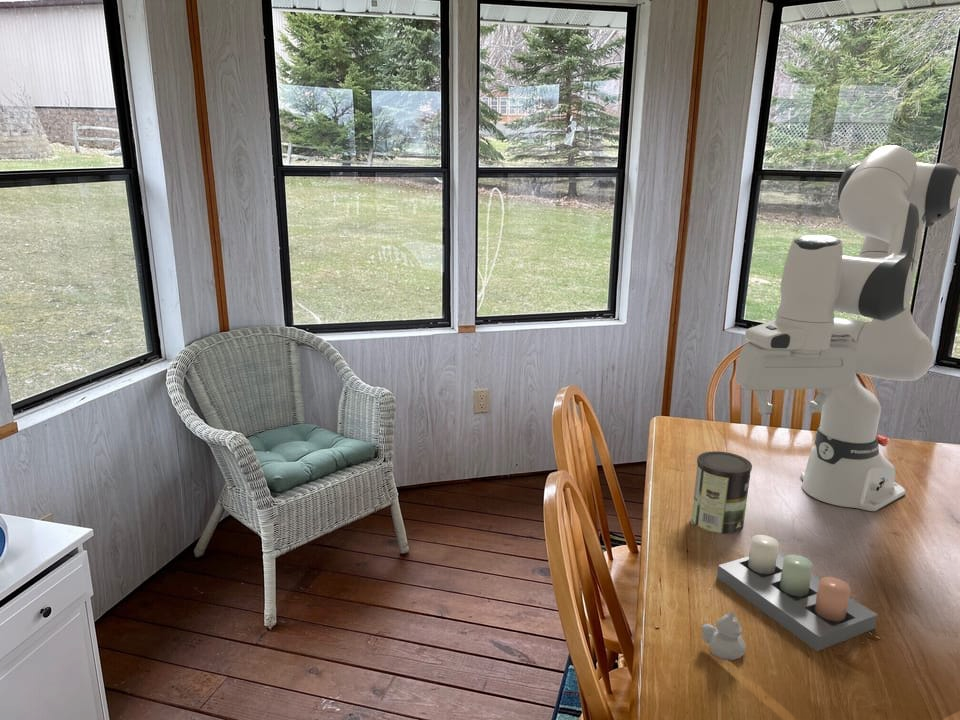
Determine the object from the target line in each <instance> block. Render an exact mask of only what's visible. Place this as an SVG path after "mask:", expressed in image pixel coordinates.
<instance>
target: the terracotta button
mask: <svg viewBox="0 0 960 720" xmlns="http://www.w3.org/2000/svg"><path fill="white" fill-rule="evenodd" d="M850 595H851V586H850V585H849V583H848V582H846V581H845V580H843V579H841V578H837V577H834V576H824V577H823V576H822V577H821V578H820V580H819V586H818V592H817V597H816V603H815V612H816V613H817V614H818V615H819V616H820V617H822V618H824V619H827V620H830V621H842V620H844V619H845V616H846V611H847V606H848V600H849V597H850Z"/></svg>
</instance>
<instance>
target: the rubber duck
mask: <svg viewBox="0 0 960 720" xmlns="http://www.w3.org/2000/svg"><path fill="white" fill-rule="evenodd" d="M734 613H735V611H734V610H732V611H730V612H728V613H727V614H726V613H725V614H724V615H722V616H721V617H719V619H718V620H717V621H716V624H715V625H716V626H714V625H712V624H710V623H704V624H703V625H702V626H701V631H702V637H701V638H702V641H703V642H704V643H707V644H708V645H709V648H710V652H711V653H712V655H713V656H715V657H717V658H719V659H721V660H724V661H727V662H729V661H730V660H731V661H733V660H738V659H740V658H742V656H743V655H744V654H745V652H746V649H747V648H746V647H747V646H746V643H745V640H744V638H743V636H742V635H741V634H743V629H742V628H743V627H741V625H740V623H739V620H738V617H736V616H735V614H734Z"/></svg>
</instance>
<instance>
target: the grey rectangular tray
mask: <svg viewBox="0 0 960 720" xmlns="http://www.w3.org/2000/svg"><path fill="white" fill-rule="evenodd" d="M785 556H786V555H783V554H782V553H780V552H779V551H778V554H777V560H776V567H775V571H774V572H773V573H771V574H761V573H757V572H755V571H753V570H752V569H750V568H749V566H748V561H749V555H748V556H745V557H741V558H738V559H735V560H732V561H727V562H725V563H721V564H718V566H717V575H716V579H718V580H719V581H720V582H722V583H723V584H725V586H727V587H728V588H730V589H732V591H733V592H735V593H737V595H739V596H741V597H742V598H744V599H745V600H746V601H748V602H749V603H750V604H751V605H752V606H754V607H755V608H757V609H758V610H760V611H761V612H762V613H764V614H765V615H766V616H768V617H769V618H770V619H772V620H773V621H774V622H776V623H777V624H779V625H780V626H782V627H783V628H785V630H787V631H788V632H790V633H791V634H793V635H794V636H795V637H796V638H798V639H799V640H800V641H802V642H803V643H804V644H806V645H807V646H809V647H810V648H812V649H813V650H814V651H815V652H819V651H821V650H824V649H826V648H829V647H832V646H834V645H836V644H837V645H838V644H839V643H842V642H844V641H846V640H849V639H852V638H854V637H857V636H860V635H862V634H865V633H867V632H870V631H872V630H875V629H876V625H877V620H878V616H879V614H877V613H876V612H875V611H873V610H871V609H870V608H868V607H867V606H865V605H863V604H862V603H860V602H858V601H857V600H855V599H854V598H852V597H851V596H849V600H848V606H847V611H846V616H845V619H844V620H842V621H830V620H827V619H824V618H822V617H820V616H819V615H818V614H817V613H816V612H815V603H816V597H817V592H818V586H819V580H820V579H821V578H820V577H818V576H817V575H816V574H814V573H812V574H811V580H810V586H809V592H808V594H807V595H806V596H802V597H798V596H792V595H789V594H787V593H785V592H784V591H783V590H782V589H781V588H780V580H781V573H782V567H783V560H784V557H785Z"/></svg>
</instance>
